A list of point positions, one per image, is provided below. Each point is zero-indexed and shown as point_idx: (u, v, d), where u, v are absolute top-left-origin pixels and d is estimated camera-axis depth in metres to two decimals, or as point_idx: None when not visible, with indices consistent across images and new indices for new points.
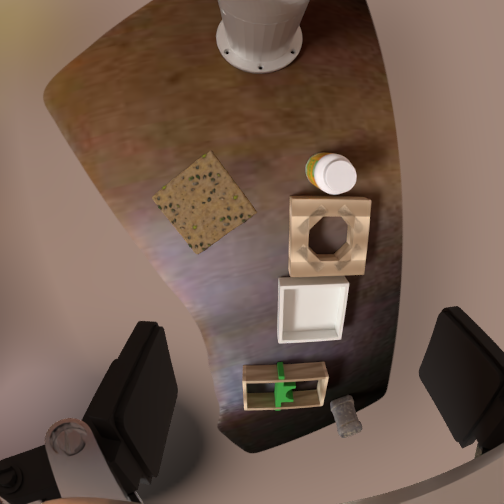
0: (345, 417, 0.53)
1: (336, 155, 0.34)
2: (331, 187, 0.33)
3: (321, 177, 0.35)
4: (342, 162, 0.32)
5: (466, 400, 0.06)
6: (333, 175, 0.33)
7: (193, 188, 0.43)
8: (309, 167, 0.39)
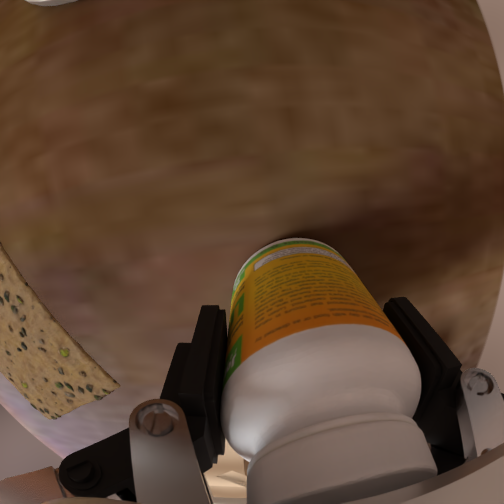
0: None
1: (348, 357, 0.05)
2: None
3: (248, 452, 0.06)
4: (375, 480, 0.03)
5: None
6: None
7: None
8: (229, 323, 0.10)
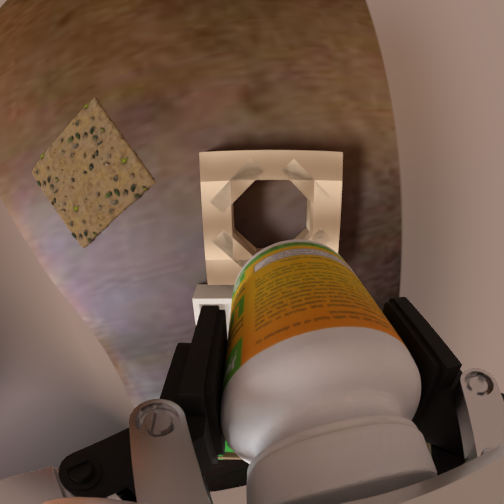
0: None
1: (348, 360, 0.05)
2: None
3: (248, 454, 0.06)
4: (375, 483, 0.03)
5: None
6: None
7: (72, 153, 0.25)
8: (229, 324, 0.10)
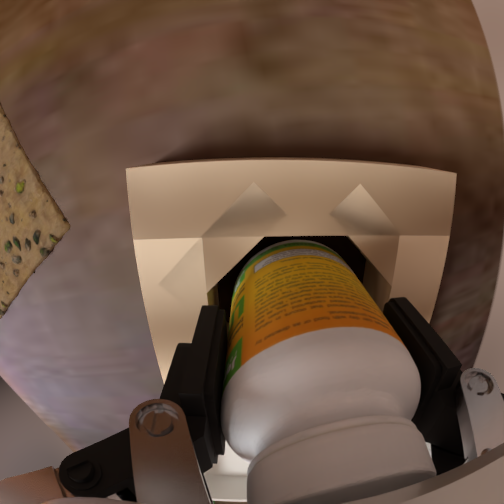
0: None
1: (348, 360, 0.05)
2: None
3: (248, 454, 0.06)
4: (374, 483, 0.03)
5: None
6: None
7: None
8: (229, 325, 0.10)
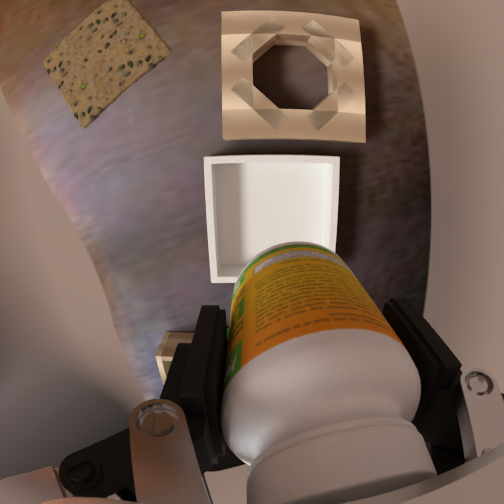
0: None
1: (348, 362, 0.05)
2: None
3: (248, 455, 0.06)
4: (375, 484, 0.03)
5: None
6: None
7: (89, 37, 0.20)
8: (229, 326, 0.10)
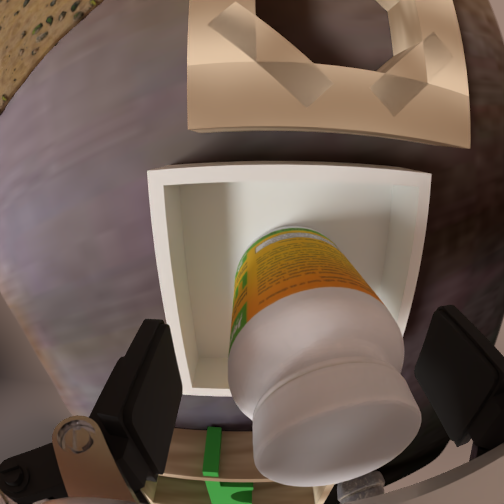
0: None
1: (337, 311, 0.07)
2: (284, 482, 0.06)
3: (252, 406, 0.07)
4: (364, 409, 0.05)
5: (460, 399, 0.06)
6: (300, 457, 0.05)
7: None
8: (233, 299, 0.11)
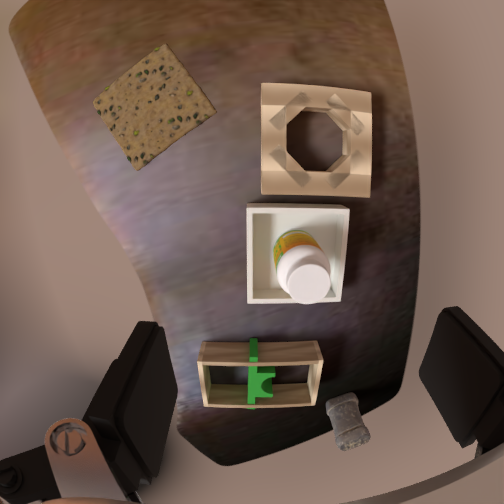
0: (346, 422, 0.37)
1: (307, 249, 0.27)
2: (294, 298, 0.26)
3: (284, 279, 0.28)
4: (312, 266, 0.25)
5: (466, 400, 0.06)
6: (298, 283, 0.26)
7: (139, 86, 0.29)
8: (275, 254, 0.32)
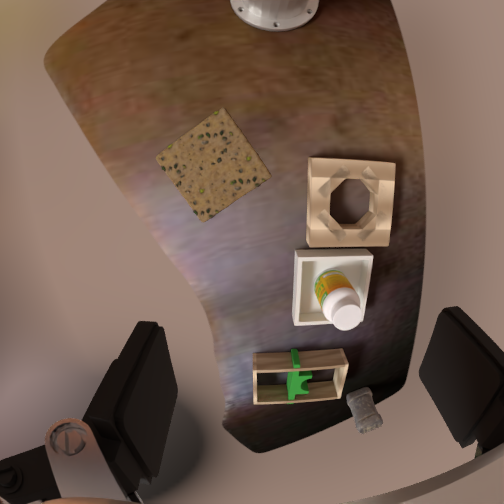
0: (364, 411, 0.48)
1: (345, 291, 0.37)
2: (337, 327, 0.36)
3: (329, 312, 0.37)
4: (350, 306, 0.35)
5: (466, 400, 0.06)
6: (341, 317, 0.35)
7: (202, 148, 0.38)
8: (318, 290, 0.41)
